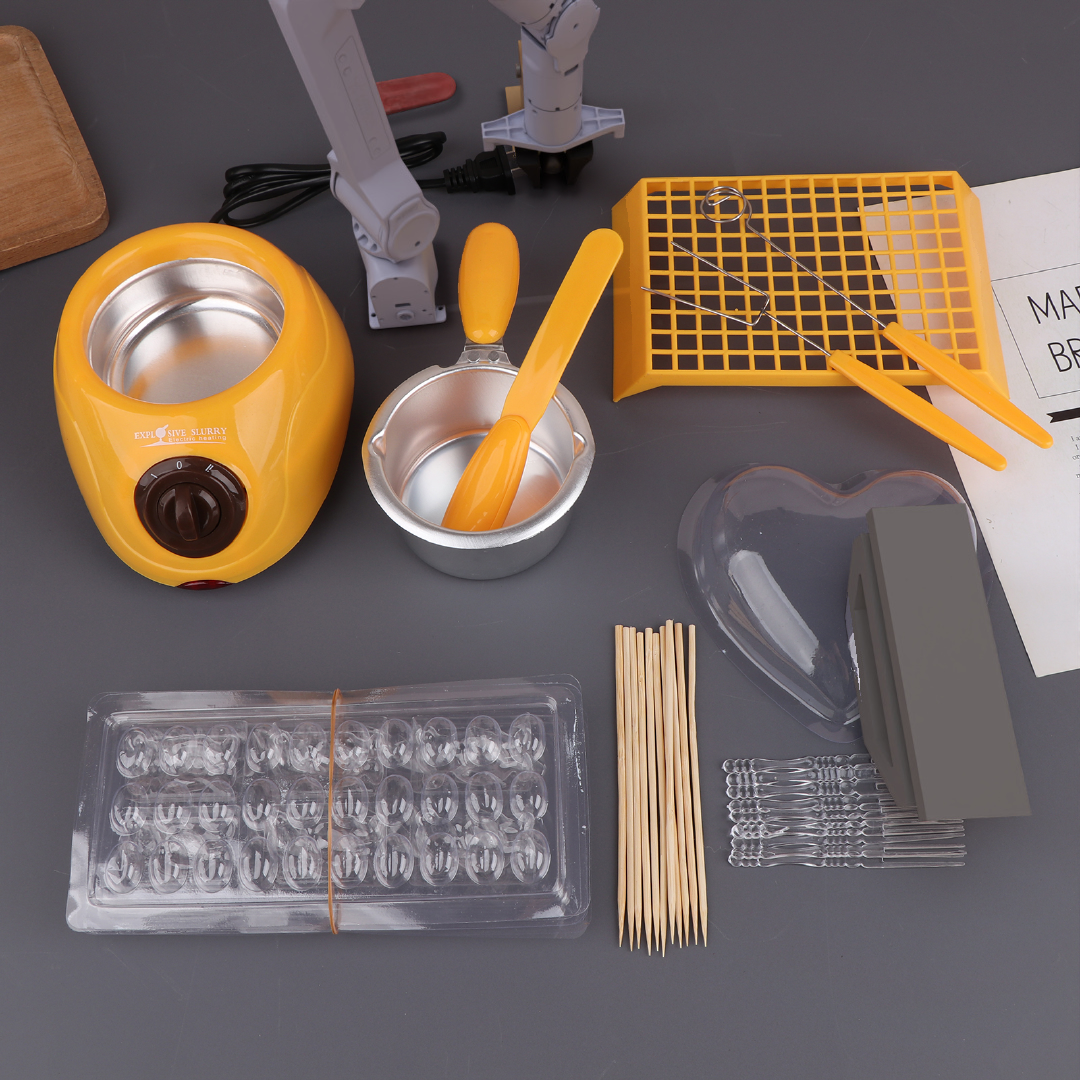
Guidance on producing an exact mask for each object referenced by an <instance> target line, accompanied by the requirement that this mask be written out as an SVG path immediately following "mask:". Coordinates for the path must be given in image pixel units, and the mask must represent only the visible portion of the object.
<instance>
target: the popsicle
mask: <svg viewBox="0 0 1080 1080" xmlns="http://www.w3.org/2000/svg"><path fill="white" fill-rule="evenodd" d="M375 83H376V86H377V89H378V92H379V95H380V98H381V101H382V104H383V107H384V110H385V113H386V116H388V115H392V114H397V113H401V112H405V111H409V110H413V109H418V108H421V107H426V106H431V105H433V104H434V105H435V104H438V103H442V102H445V101H448V100H449V99H451V98H452V97H453V96H454V94H455V93H456V92H457V91H456V89H457V83H456V81H455V79H454V78H453V77H452V76H451V75H450V74H448V73H445V72H442V71H441V72H429V73H428V72H427V73H422V74H416V75H410V76H404V77H399V78H394V79H393V78H392V79H388V80H382V81H375Z"/></svg>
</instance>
